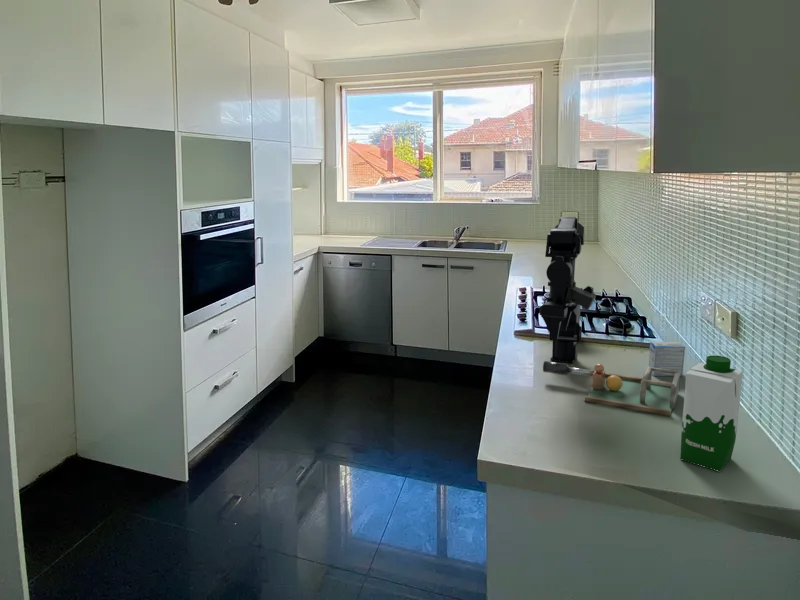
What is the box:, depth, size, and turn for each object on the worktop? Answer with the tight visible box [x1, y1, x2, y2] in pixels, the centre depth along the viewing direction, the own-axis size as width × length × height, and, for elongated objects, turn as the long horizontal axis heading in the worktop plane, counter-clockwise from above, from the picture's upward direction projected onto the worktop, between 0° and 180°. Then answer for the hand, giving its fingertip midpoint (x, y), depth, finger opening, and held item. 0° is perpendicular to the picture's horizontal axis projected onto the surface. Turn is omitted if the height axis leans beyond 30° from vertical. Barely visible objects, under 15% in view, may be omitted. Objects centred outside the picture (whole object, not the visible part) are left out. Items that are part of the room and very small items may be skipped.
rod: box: [542, 360, 606, 390], centre depth 146 cm, size 15×4×6 cm, turn 59°
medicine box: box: [648, 341, 686, 377], centre depth 153 cm, size 8×4×9 cm, turn 84°
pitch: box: [584, 366, 681, 417], centre depth 139 cm, size 20×20×6 cm
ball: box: [606, 375, 622, 391], centre depth 141 cm, size 4×4×4 cm
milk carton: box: [679, 355, 744, 472], centre depth 105 cm, size 9×9×20 cm
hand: (559, 335), depth 147 cm, fingers open, 9 cm apart
